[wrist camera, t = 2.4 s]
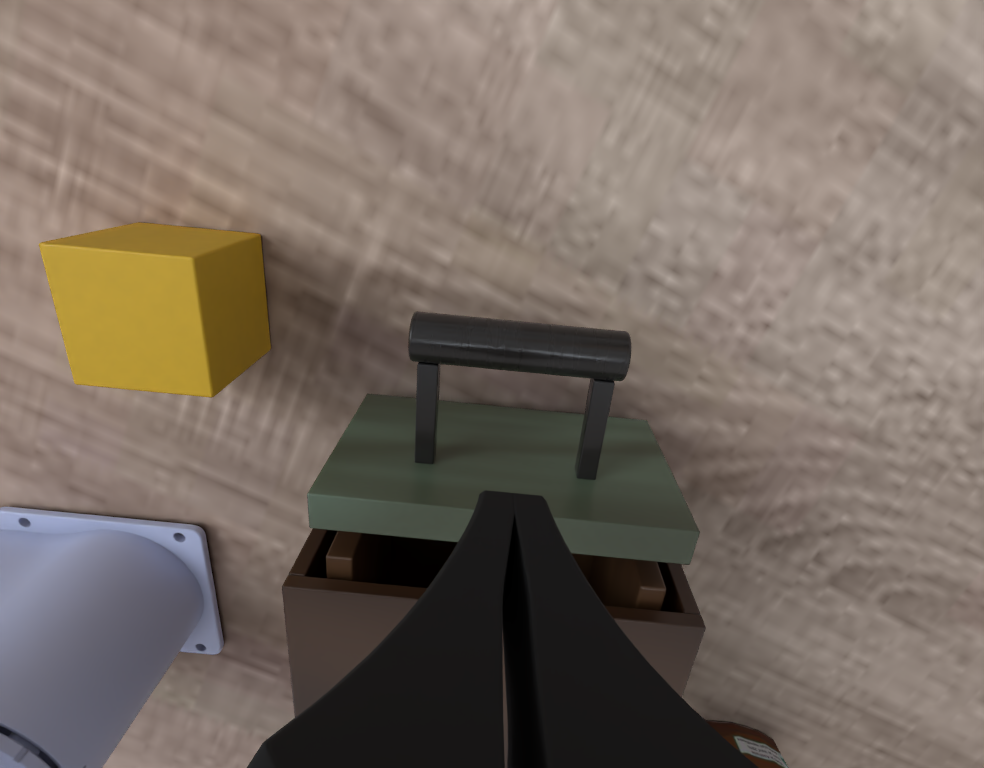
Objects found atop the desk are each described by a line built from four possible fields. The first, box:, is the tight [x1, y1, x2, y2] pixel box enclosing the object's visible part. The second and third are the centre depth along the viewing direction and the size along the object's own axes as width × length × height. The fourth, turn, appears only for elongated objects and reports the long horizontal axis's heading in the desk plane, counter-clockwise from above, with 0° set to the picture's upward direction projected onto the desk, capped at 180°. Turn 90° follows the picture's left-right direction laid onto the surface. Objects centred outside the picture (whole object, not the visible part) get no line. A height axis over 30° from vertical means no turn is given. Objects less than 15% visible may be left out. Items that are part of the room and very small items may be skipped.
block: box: [39, 222, 271, 397], centre depth 18 cm, size 4×4×4 cm
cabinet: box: [282, 528, 706, 768], centre depth 22 cm, size 14×12×8 cm
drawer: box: [307, 312, 700, 611], centre depth 19 cm, size 18×11×6 cm, turn 175°
